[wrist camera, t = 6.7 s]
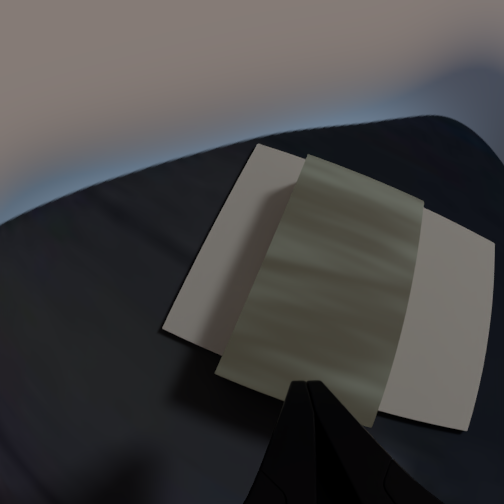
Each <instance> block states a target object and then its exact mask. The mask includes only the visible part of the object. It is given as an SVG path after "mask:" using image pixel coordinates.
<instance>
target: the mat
mask: <svg viewBox="0 0 504 504" xmlns="http://www.w3.org/2000/svg"><path fill="white" fill-rule="evenodd" d="M304 163H305V159H303V158H300V157H297V156H294V155H291V154H288V153H285V152H282V151H279V150H276V149H273V148H270V147H267V146H264V145H261V144H257V146H256V148H255V149H254V151H253V153H252V155H251V156H250V158H249V160H248V162H247V164H246V165H245V167H244V169H243V171H242V173H241V175H240V176H239V178H238V180H237V182H236V184H235V186H234V187H233V189H232V191H231V193H230V195H229V197H228V199H227V201H226V202H225V204H224V206H223V208H222V210H221V212H220V214H219V216H218V217H217V219H216V221H215V223H214V225H213V227H212V229H211V231H210V233H209V235H208V237H207V239H206V241H205V242H204V244H203V246H202V248H201V250H200V252H199V254H198V256H197V258H196V260H195V262H194V264H193V266H192V268H191V270H190V272H189V274H188V276H187V278H186V280H185V282H184V284H183V286H182V288H181V290H180V292H179V294H178V296H177V298H176V300H175V302H174V304H173V306H172V309H171V311H170V313H169V315H168V317H167V319H166V321H165V323H164V325H163V327H162V329H164V330H166V331H168V332H170V333H172V334H174V335H176V336H178V337H181V338H183V339H185V340H187V341H189V342H191V343H194V344H196V345H198V346H200V347H203V348H205V349H207V350H209V351H212V352H214V353H216V354H219V355H221V356H222V355H223V353H224V351H225V348H226V346H227V344H228V341H229V339H230V337H231V335H232V332H233V330H234V328H235V325H236V323H237V321H238V318H239V316H240V314H241V312H242V309H243V307H244V305H245V302H246V300H247V298H248V295H249V293H250V291H251V288H252V286H253V284H254V281H255V279H256V277H257V274H258V272H259V270H260V267H261V265H262V263H263V260H264V258H265V256H266V253H267V251H268V249H269V246H270V244H271V242H272V239H273V237H274V234H275V232H276V230H277V227H278V225H279V223H280V220H281V218H282V215H283V213H284V211H285V208H286V206H287V204H288V201H289V199H290V196H291V194H292V192H293V189H294V187H295V184H296V182H297V180H298V177H299V175H300V172H301V170H302V168H303V165H304ZM494 256H495V244H494V243H492V242H491V241H489V240H487V239H485V238H483V237H481V236H480V235H478V234H476V233H474V232H472V231H470V230H468V229H466V228H464V227H462V226H460V225H458V224H456V223H454V222H452V221H450V220H448V219H446V218H444V217H442V216H440V215H438V214H436V213H434V212H432V211H430V210H428V209H425V208H423V215H422V224H421V232H420V239H419V246H418V252H417V259H416V265H415V270H414V276H413V281H412V286H411V291H410V296H409V301H408V306H407V310H406V315H405V319H404V323H403V327H402V331H401V335H400V339H399V343H398V347H397V351H396V354H395V358H394V361H393V365H392V368H391V372H390V375H389V378H388V381H387V385H386V388H385V391H384V394H383V397H382V400H381V403H380V406H379V409H378V411H381V412H385V413H389V414H392V415H396V416H400V417H404V418H408V419H412V420H416V421H420V422H425V423H429V424H434V425H438V426H443V427H448V428H453V429H458V430H463V431H467V429H468V426H469V423H470V419H471V416H472V412H473V408H474V404H475V401H476V397H477V392H478V388H479V384H480V379H481V374H482V369H483V364H484V359H485V353H486V347H487V341H488V334H489V326H490V318H491V308H492V297H493V283H494Z"/></svg>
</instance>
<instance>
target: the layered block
mask: <svg viewBox="0 0 504 504" xmlns="http://www.w3.org/2000/svg"><path fill="white" fill-rule="evenodd" d="M423 206H424V201H422V200H420V199H417V198H415V197H413V196H411V195H409V194H406V193H404V192H402V191H400V190H397V189H395V188H393V187H391V186H388V185H386V184H384V183H381V182H379V181H376V180H374V179H372V178H369V177H367V176H364V175H362V174H359V173H357V172H354V171H352V170H349V169H347V168H344V167H341V166H339V165H336V164H334V163H331V162H328V161H325V160H323V159H320V158H317V157H314V156H312V155H309V154H308V156H307V158H306V160H305V163H304V165H303V168H302V170H301V172H300V175H299V177H298V180H297V182H296V184H295V187H294V189H293V192H292V194H291V196H290V199H289V201H288V204H287V206H286V208H285V211H284V213H283V215H282V218H281V220H280V223H279V225H278V227H277V230H276V232H275V234H274V237H273V239H272V242H271V244H270V246H269V249H268V251H267V253H266V256H265V258H264V260H263V263H262V265H261V267H260V270H259V272H258V274H257V277H256V279H255V281H254V284H253V286H252V288H251V291H250V293H249V295H248V298H247V300H246V302H245V305H244V307H243V309H242V312H241V314H240V316H239V318H238V321H237V323H236V325H235V328H234V330H233V332H232V335H231V337H230V339H229V341H228V344H227V346H226V348H225V351H224V353H223V355H222V357H221V360H220V362H219V364H218V367H217V369H216V371H215V373H214V374H216V375H218V376H221V377H223V378H226V379H228V380H230V381H233V382H235V383H238V384H240V385H243V386H245V387H248V388H250V389H253V390H255V391H258V392H261V393H263V394H266V395H269V396H271V397H274V398H277V399H280V400H282V401H284V400H285V398H286V395H287V392H288V389H289V386H290V383H291V381H294V380H304V381H308V380H320V381H322V382H323V383H324V384H325V385H326V386H327V387H328V389H329V390H330V391H331V392H332V393H333V394H334V395H335V396H336V397H337V399H338V400H339V401H340V402H341V403H342V404H343V405H344V406H345V407H346V409H347V410H348V411H349V412H350V413H351V414H352V415H353V416H354V417H355V418H356V419H357V421H358V422H359V423H360V424H361V425H363V426H367V427H371V428H372V425H373V423H374V420H375V417H376V414H377V412H378V409H379V406H380V403H381V400H382V397H383V394H384V391H385V388H386V385H387V381H388V378H389V375H390V372H391V368H392V365H393V361H394V358H395V354H396V351H397V347H398V343H399V339H400V335H401V331H402V327H403V323H404V319H405V315H406V310H407V306H408V301H409V296H410V291H411V286H412V281H413V276H414V270H415V265H416V259H417V252H418V246H419V239H420V232H421V224H422V215H423Z"/></svg>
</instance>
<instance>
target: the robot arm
mask: <svg viewBox="0 0 504 504" xmlns="http://www.w3.org/2000/svg"><path fill="white" fill-rule="evenodd" d="M391 459H392V457H391V456H390V455H389V454H388V453H387V452H386V451H385V450H384V448H383V447H382V446H381V445H380V444H379V443H378V442H377V441H376V440H375V439H374V438H373V437H372V436H371V435H370V434H369V432H368V431H367V430H366V429H365V428H364V427H363V426H362V425H361V424H360V423H359V422H358V421H357V419H356V418H355V417H354V416H353V415H352V414H351V413H350V412H349V411H348V410H347V409H346V407H345V406H344V405H343V404H342V403H341V402H340V401H339V400H338V399H337V397H336V396H335V395H334V394H333V393H332V392H331V391H330V390H329V389H328V387H327V386H326V385H325V384H324V383H323V382H322V381H320V380H308V381H304V380H294V381H291V383H290V386H289V389H288V392H287V395H286V398H285V400H284V403H283V406H282V409H281V412H280V415H279V418H278V420H277V423H276V426H275V429H274V431H273V434H272V437H271V440H270V442H269V445H268V448H267V450H266V453H265V455H264V458H263V461H262V463H261V466H260V468H259V471H258V473H257V475H256V478H255V480H254V483H253V485H252V487H251V489H250V491H249V494H248V496H247V498H246V499H245V501H244V503H243V504H444V503H443V502H441V501H440V500H439V499H438V498H436V497H435V496H434V495H432V494H431V493H430V492H429V491H427V490H426V489H425V488H424V487H422V486H421V485H420V484H419V483H418V482H416V481H415V480H414V479H413V478H412V477H411V476H410V475H409V474H408V473H407V472H406V471H405V470H404V469H403V468H402V467H401V466H400V465H399V464H398V463H397V462H396V461H395V460H394V459H392V460H391Z"/></svg>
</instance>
